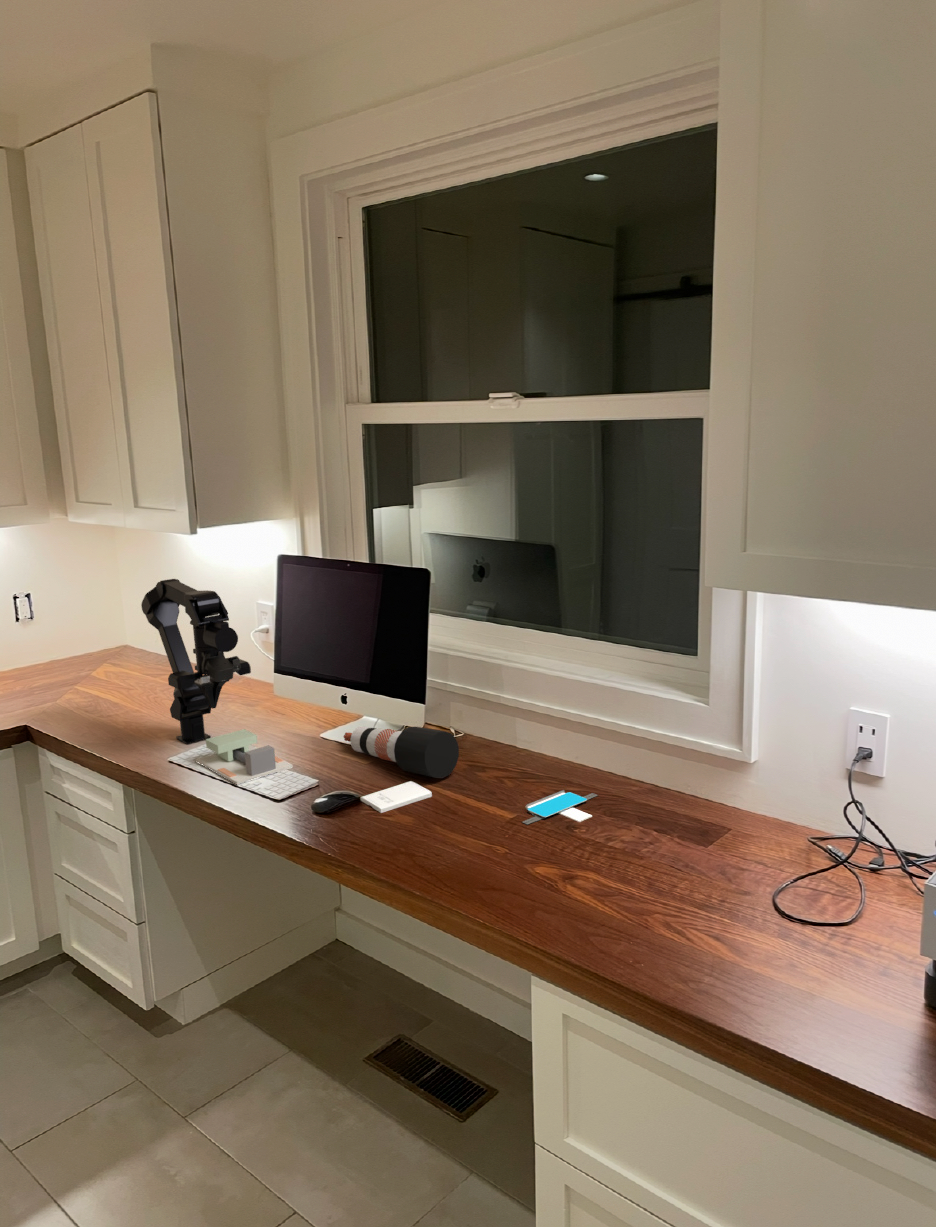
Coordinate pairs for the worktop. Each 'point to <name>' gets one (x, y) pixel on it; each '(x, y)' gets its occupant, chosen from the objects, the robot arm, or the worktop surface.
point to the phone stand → (558, 806)
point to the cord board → (237, 767)
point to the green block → (231, 743)
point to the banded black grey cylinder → (409, 748)
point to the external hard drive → (396, 796)
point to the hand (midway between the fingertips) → (213, 708)
